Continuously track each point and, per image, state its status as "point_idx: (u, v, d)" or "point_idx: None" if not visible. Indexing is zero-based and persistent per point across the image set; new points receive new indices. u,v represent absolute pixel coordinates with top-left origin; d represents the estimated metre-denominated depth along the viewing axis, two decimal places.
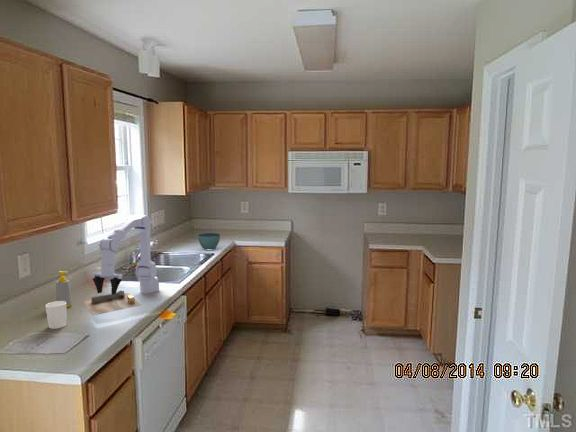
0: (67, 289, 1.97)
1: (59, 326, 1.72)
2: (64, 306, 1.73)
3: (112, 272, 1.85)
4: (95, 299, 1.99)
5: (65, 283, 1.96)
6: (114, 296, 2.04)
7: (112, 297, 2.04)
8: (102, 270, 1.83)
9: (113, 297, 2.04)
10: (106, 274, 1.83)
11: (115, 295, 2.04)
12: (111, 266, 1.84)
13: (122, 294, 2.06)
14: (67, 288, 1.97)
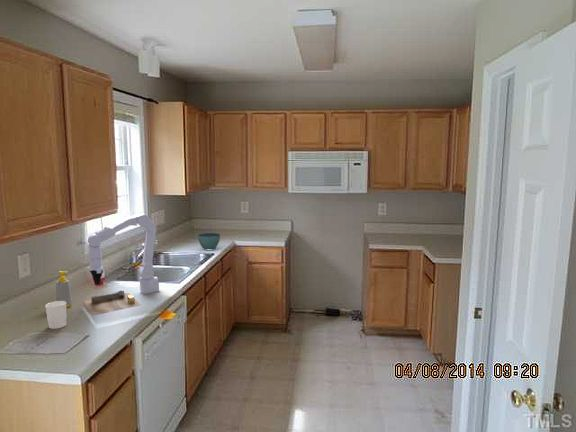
0: (67, 289, 1.97)
1: (59, 326, 1.72)
2: (64, 306, 1.73)
3: (96, 266, 2.01)
4: (95, 299, 1.99)
5: (65, 283, 1.96)
6: (114, 296, 2.04)
7: (112, 297, 2.04)
8: None
9: (113, 297, 2.04)
10: (91, 268, 2.00)
11: (115, 295, 2.04)
12: (94, 261, 2.00)
13: (122, 294, 2.06)
14: (67, 288, 1.97)
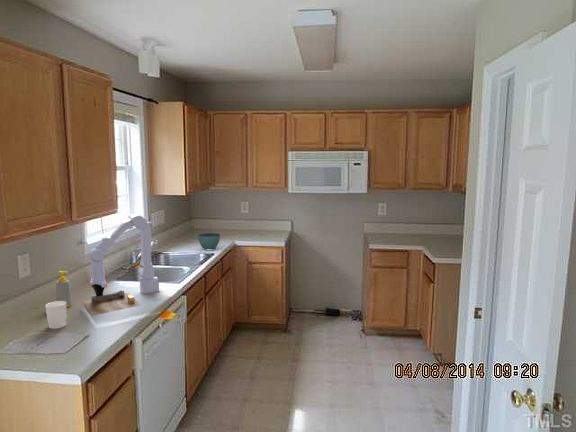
0: (67, 289, 1.97)
1: (59, 326, 1.72)
2: (64, 306, 1.73)
3: (100, 280, 2.00)
4: (95, 299, 1.99)
5: (65, 283, 1.96)
6: (114, 296, 2.04)
7: (112, 297, 2.04)
8: (92, 278, 2.00)
9: (113, 297, 2.04)
10: (94, 282, 1.99)
11: (115, 295, 2.04)
12: (98, 275, 1.99)
13: (122, 294, 2.06)
14: (67, 288, 1.97)
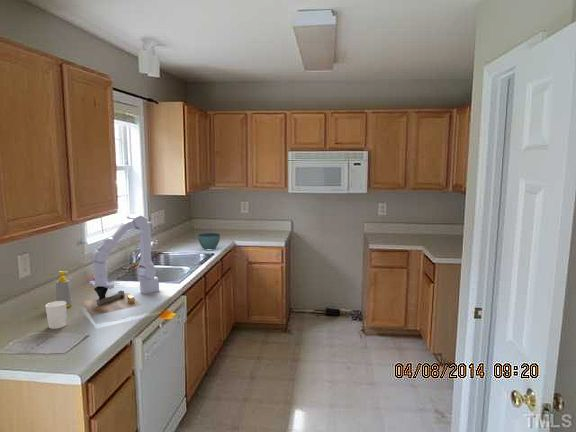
0: (67, 289, 1.97)
1: (59, 326, 1.72)
2: (64, 306, 1.73)
3: (104, 282, 1.96)
4: (102, 302, 1.95)
5: (65, 283, 1.96)
6: (117, 296, 2.03)
7: (115, 298, 2.03)
8: (95, 280, 1.95)
9: (116, 298, 2.03)
10: (98, 284, 1.95)
11: (117, 295, 2.04)
12: (103, 277, 1.95)
13: (123, 294, 2.07)
14: (67, 288, 1.97)
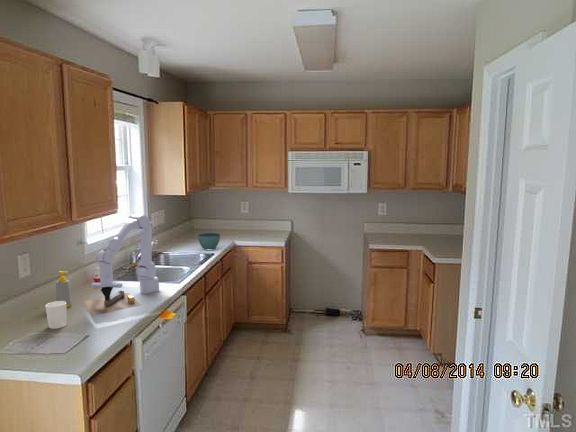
0: (67, 289, 1.97)
1: (59, 326, 1.72)
2: (64, 306, 1.73)
3: (112, 282, 1.96)
4: (109, 302, 1.95)
5: (65, 283, 1.96)
6: (119, 296, 2.03)
7: (118, 298, 2.02)
8: (102, 281, 1.93)
9: (119, 298, 2.03)
10: (107, 285, 1.94)
11: (119, 295, 2.04)
12: (110, 277, 1.95)
13: None
14: (67, 288, 1.97)
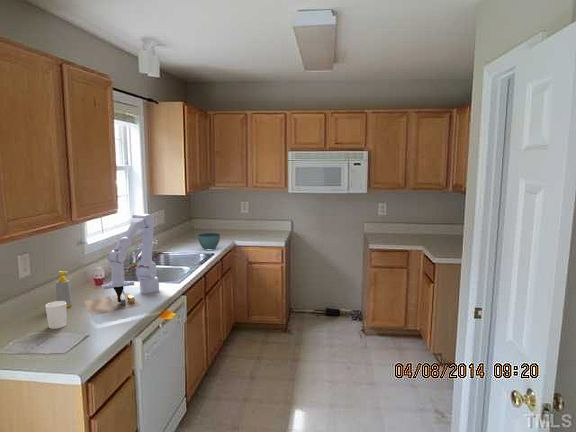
0: (67, 289, 1.97)
1: (59, 326, 1.72)
2: (64, 306, 1.73)
3: (124, 281, 1.97)
4: None
5: (65, 283, 1.96)
6: None
7: None
8: (117, 281, 1.94)
9: None
10: (122, 284, 1.95)
11: None
12: (123, 276, 1.96)
13: None
14: (67, 288, 1.97)
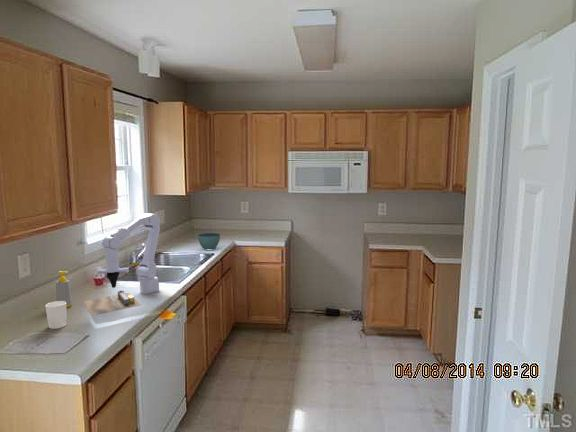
0: (67, 289, 1.97)
1: (59, 326, 1.72)
2: (64, 306, 1.73)
3: (118, 267, 1.98)
4: None
5: (65, 283, 1.96)
6: None
7: None
8: (109, 267, 1.95)
9: None
10: (114, 270, 1.96)
11: None
12: (117, 262, 1.97)
13: None
14: (67, 288, 1.97)
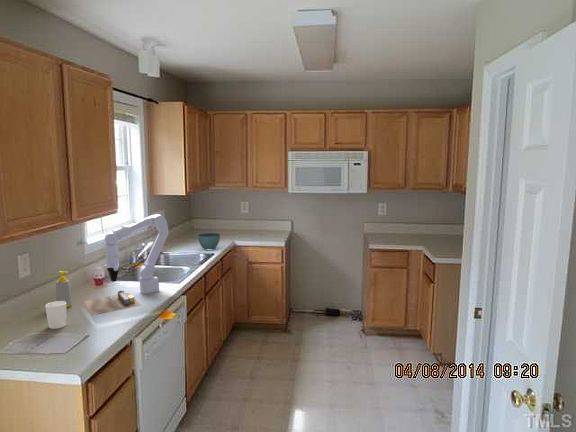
0: (67, 289, 1.97)
1: (59, 326, 1.72)
2: (64, 306, 1.73)
3: (113, 263, 2.05)
4: None
5: (65, 283, 1.96)
6: None
7: None
8: None
9: None
10: (108, 265, 2.05)
11: None
12: (111, 259, 2.05)
13: None
14: (67, 288, 1.97)
